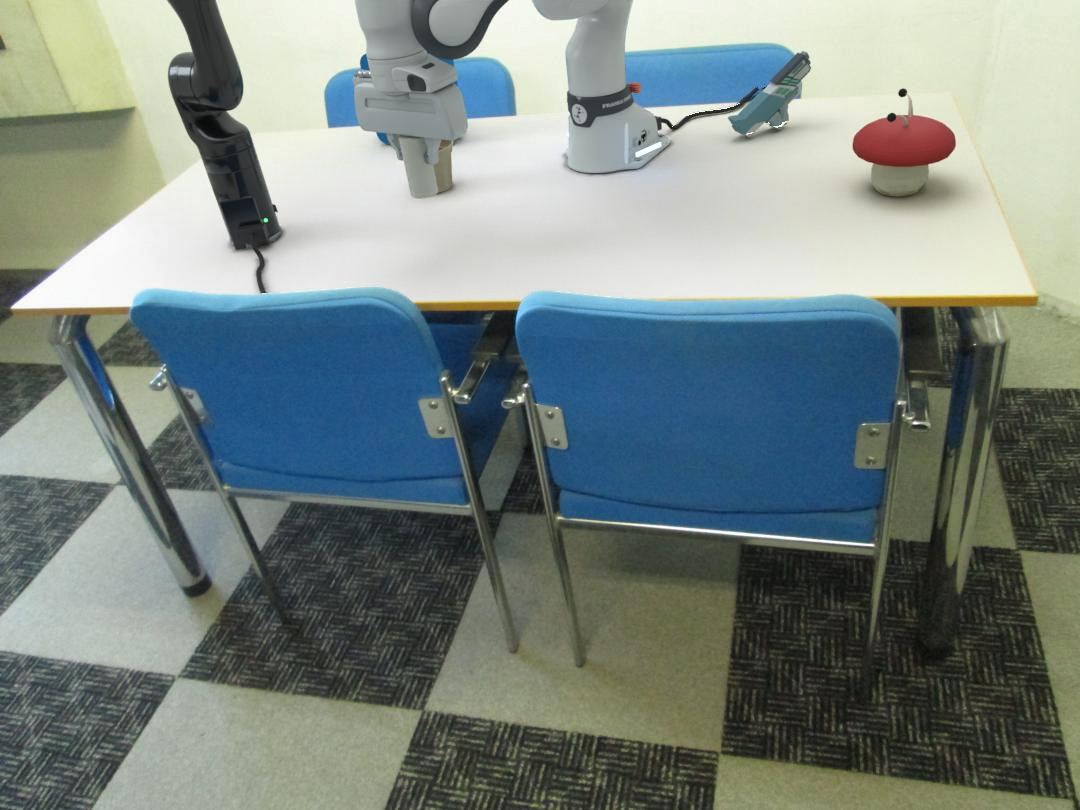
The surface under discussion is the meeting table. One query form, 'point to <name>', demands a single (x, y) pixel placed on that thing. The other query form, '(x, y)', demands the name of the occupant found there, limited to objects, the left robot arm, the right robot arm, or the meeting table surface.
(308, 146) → the meeting table surface
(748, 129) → the toy gun
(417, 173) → the cylinder
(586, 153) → the right robot arm
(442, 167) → the flower pot
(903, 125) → the mushroom
